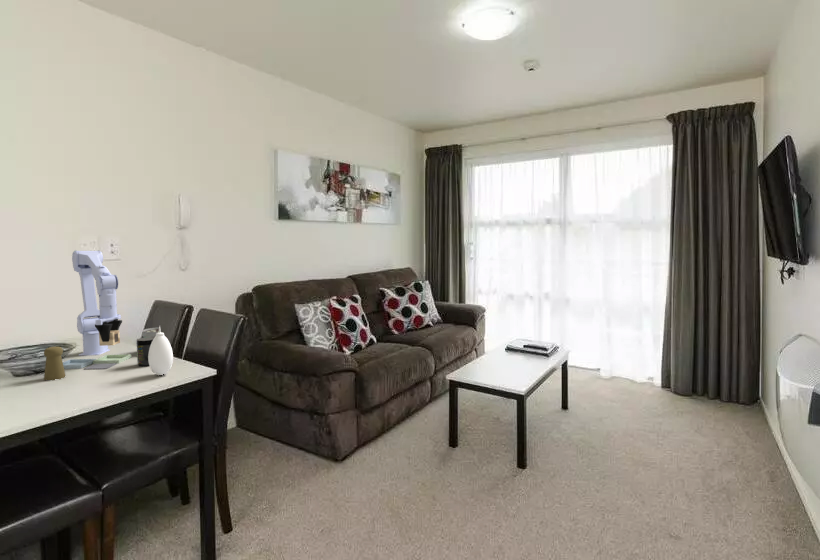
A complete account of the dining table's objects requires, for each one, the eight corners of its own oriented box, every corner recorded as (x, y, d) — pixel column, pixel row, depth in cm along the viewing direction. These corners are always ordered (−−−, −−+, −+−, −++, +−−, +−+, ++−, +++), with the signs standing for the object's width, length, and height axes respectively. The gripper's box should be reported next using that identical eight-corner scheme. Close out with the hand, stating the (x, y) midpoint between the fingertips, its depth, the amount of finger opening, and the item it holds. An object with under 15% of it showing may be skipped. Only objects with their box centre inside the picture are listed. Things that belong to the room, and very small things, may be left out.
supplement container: (151, 367, 172) (150, 340, 171) (133, 367, 172) (132, 340, 171) (160, 363, 179) (160, 337, 178) (143, 363, 179) (143, 337, 178)
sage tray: (106, 358, 185) (106, 354, 185) (131, 357, 186) (131, 354, 186) (93, 364, 176) (92, 360, 176) (119, 364, 177) (118, 360, 177)
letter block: (106, 342, 181) (106, 330, 180) (120, 342, 181) (119, 330, 181) (99, 345, 176) (98, 332, 176) (113, 345, 176) (112, 332, 176)
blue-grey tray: (70, 363, 178) (70, 359, 178) (96, 362, 179) (96, 358, 179) (54, 369, 168) (53, 365, 168) (81, 369, 169) (81, 365, 169)
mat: (94, 365, 175) (94, 363, 175) (116, 364, 176) (116, 363, 176) (83, 370, 168) (83, 368, 168) (106, 369, 169) (106, 368, 169)
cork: (53, 381, 154) (51, 349, 154) (39, 379, 156) (37, 348, 155) (70, 376, 160) (68, 345, 160) (56, 375, 162) (54, 344, 161)
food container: (144, 350, 200) (143, 328, 199) (159, 349, 202) (159, 327, 202) (140, 356, 189) (139, 333, 188) (157, 355, 191) (156, 332, 190)
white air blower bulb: (174, 376, 162) (172, 326, 160) (149, 379, 157) (147, 328, 156) (172, 370, 168) (171, 323, 167) (148, 373, 164) (146, 324, 163)
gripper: (108, 308, 171) (110, 343, 172) (128, 303, 185) (129, 336, 186) (88, 308, 170) (90, 344, 171) (109, 303, 184) (111, 336, 185)
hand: (109, 340), depth 179 cm, fingers closed on letter block, 5 cm apart
